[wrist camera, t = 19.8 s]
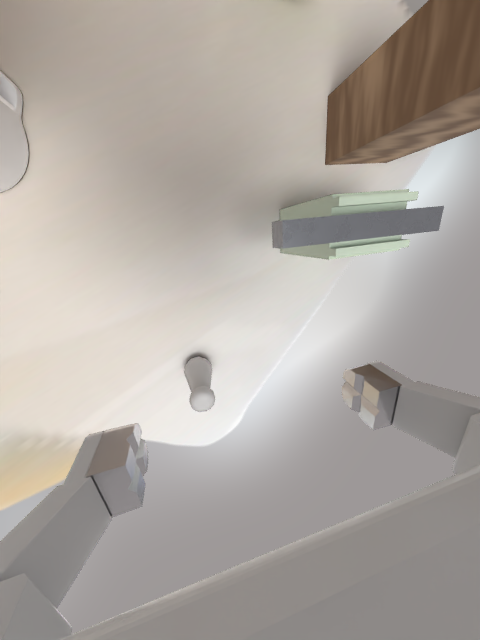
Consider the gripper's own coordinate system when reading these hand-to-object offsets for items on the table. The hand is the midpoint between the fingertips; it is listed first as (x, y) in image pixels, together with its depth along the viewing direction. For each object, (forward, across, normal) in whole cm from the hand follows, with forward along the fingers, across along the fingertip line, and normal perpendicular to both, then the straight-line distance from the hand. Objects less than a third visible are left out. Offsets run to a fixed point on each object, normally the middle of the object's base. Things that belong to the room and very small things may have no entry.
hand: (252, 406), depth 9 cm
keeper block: (+37, -24, -6) cm, 45 cm away
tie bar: (+21, -21, -6) cm, 31 cm away
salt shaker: (+37, +2, +20) cm, 42 cm away
